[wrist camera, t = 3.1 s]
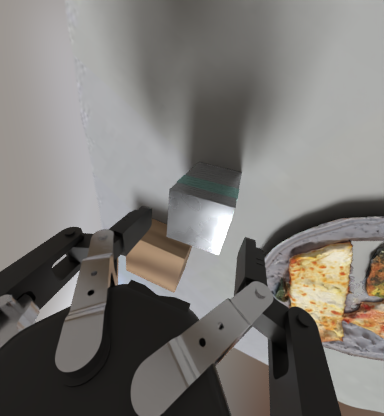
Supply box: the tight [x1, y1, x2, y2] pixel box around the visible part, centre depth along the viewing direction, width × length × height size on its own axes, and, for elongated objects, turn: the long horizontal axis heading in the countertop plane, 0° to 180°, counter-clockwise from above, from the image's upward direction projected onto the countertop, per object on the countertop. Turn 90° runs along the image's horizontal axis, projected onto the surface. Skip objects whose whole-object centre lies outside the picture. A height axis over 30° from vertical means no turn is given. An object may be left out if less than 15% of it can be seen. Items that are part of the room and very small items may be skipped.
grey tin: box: [167, 162, 242, 255], centre depth 16 cm, size 5×5×8 cm
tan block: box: [126, 219, 192, 292], centre depth 26 cm, size 9×9×5 cm
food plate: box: [265, 216, 384, 360], centre depth 19 cm, size 25×23×4 cm
